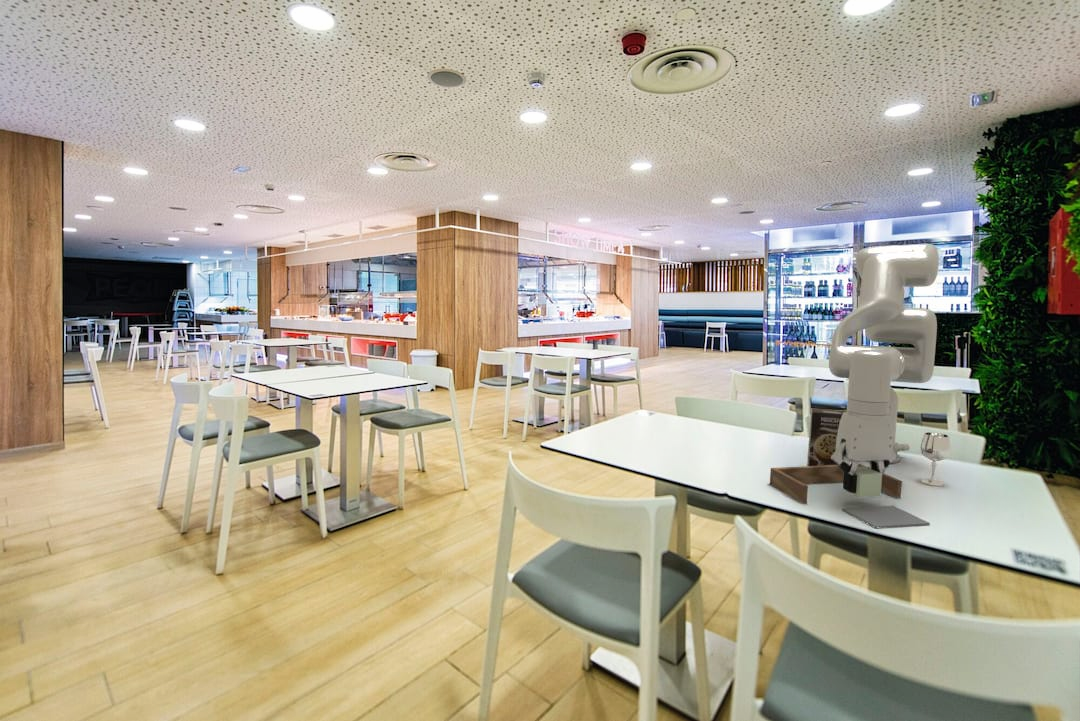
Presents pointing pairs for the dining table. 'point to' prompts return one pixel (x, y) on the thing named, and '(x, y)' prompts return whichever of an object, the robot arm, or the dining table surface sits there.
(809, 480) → the open wooden frame
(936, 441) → the wineglass
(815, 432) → the coffee box
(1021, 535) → the dining table surface
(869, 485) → the sage block
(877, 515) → the grey mat
